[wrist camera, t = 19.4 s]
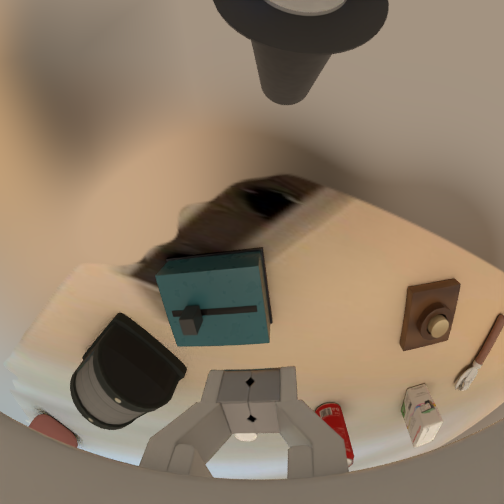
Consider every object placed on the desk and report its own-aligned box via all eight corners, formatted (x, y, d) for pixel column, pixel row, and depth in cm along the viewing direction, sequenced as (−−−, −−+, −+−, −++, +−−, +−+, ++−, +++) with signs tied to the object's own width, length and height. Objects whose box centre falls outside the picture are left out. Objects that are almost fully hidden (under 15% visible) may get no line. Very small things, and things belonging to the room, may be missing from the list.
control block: (407, 286, 41) (417, 298, 37) (454, 278, 40) (466, 288, 36) (399, 344, 45) (406, 357, 41) (443, 333, 44) (451, 345, 40)
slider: (185, 305, 38) (178, 319, 34) (199, 305, 38) (192, 319, 34) (189, 321, 39) (183, 335, 35) (203, 320, 38) (197, 335, 35)
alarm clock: (39, 415, 70) (18, 448, 52) (41, 406, 67) (17, 442, 49) (78, 444, 73) (59, 479, 55) (83, 438, 70) (62, 476, 52)
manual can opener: (492, 310, 42) (499, 317, 39) (505, 313, 42) (512, 319, 39) (449, 385, 49) (454, 393, 46) (464, 384, 49) (469, 392, 46)
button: (429, 316, 39) (433, 322, 37) (446, 312, 38) (450, 317, 37) (425, 333, 40) (429, 339, 38) (442, 329, 39) (446, 335, 38)
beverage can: (308, 411, 52) (313, 470, 38) (331, 396, 50) (341, 456, 36) (326, 420, 53) (333, 475, 39) (349, 406, 51) (361, 462, 37)
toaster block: (167, 257, 42) (152, 274, 37) (262, 247, 41) (260, 263, 35) (186, 326, 46) (175, 348, 41) (272, 321, 45) (271, 345, 39)
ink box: (418, 405, 51) (433, 442, 40) (400, 411, 52) (413, 448, 41) (425, 382, 48) (444, 421, 37) (406, 388, 49) (423, 428, 38)
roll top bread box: (170, 425, 37) (119, 447, 42) (191, 367, 50) (141, 401, 56) (81, 357, 33) (52, 395, 39) (121, 308, 47) (84, 354, 52)
